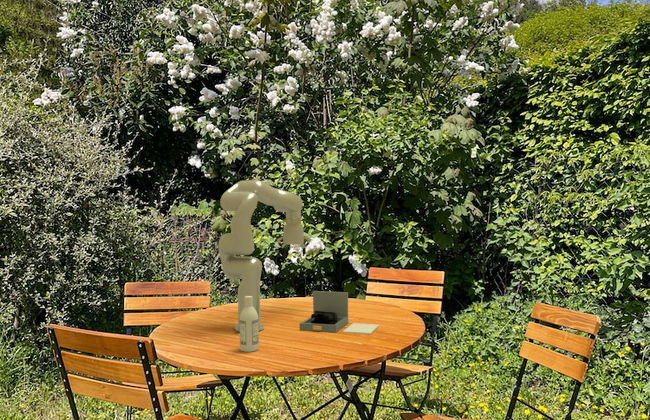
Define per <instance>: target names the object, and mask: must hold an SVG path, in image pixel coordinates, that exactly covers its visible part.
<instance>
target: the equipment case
mask: <svg viewBox="0 0 650 420" xmlns="http://www.w3.org/2000/svg"><path fill="white" fill-rule="evenodd" d="M312 299H313V300H312V304H313V305H312V307H313V308H312V309H313V310H312V311H313V313H312V314H314V313H315V311H324V312H335V313H336V314H337V317H338V320H337V323H336V324H334V325H330V324H314V323H311V321H313V320H314V318H311V316H309V317H308V318H307V319H304V320H303V321H301V322H300V323H299V331H304V332H305V331H307V332H320V333H321V332H322V333H337V332H339V331H340V330H341V329H343V328H344V327H346V326H347V325H348V324H349V292H348V291H347V292H346V291H345V292H344V291H343V292H342V291H326V290H325V291H324V290H323V291H319V290H313V291H312Z"/></svg>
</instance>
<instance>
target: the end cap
mask: <svg viewBox="0 0 650 420" xmlns="http://www.w3.org/2000/svg"><path fill="white" fill-rule="evenodd" d="M310 315H311V316H310V317H311V318H314V320H313V321H311V323H314V324H330V325H334V324H336V323H337V320H338V317H337V314H336V313H335V312H324V311H315V313H314V314H313V313H311V314H310Z"/></svg>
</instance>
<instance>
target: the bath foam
mask: <svg viewBox="0 0 650 420" xmlns="http://www.w3.org/2000/svg"><path fill="white" fill-rule="evenodd" d="M259 332H260V331H258V314H257V312H256V310H255V309H254V307H253V297H252V296H245V307H244V308H243V310H242V312H241V314H240V332H239V349H240V351H242V352H244V353H247V352H248V353H249V352H250V353H253V352H256V351H258V350H259V348H260V347H259V346H260V344H259V342H260V341H259Z"/></svg>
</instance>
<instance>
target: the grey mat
mask: <svg viewBox="0 0 650 420" xmlns="http://www.w3.org/2000/svg"><path fill="white" fill-rule="evenodd" d="M379 327H380V324H374V323H373V324H372V323H370V324H369V323H360V322H359V323H358V322H357V323H356V322H355V323H354V322H352V324H350V325H349V326H348V327H346V328H345V329H344V330H343V331H342V333H345V334H357V335H370V336H371V335H372V334H373V333H374V332H375V331H376V330H377V329H379Z"/></svg>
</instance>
